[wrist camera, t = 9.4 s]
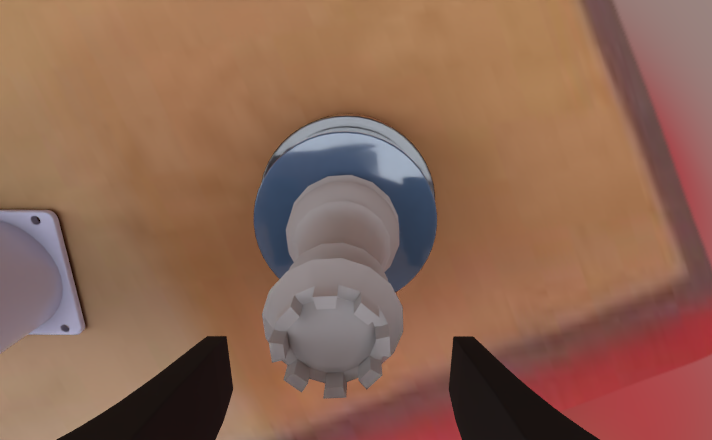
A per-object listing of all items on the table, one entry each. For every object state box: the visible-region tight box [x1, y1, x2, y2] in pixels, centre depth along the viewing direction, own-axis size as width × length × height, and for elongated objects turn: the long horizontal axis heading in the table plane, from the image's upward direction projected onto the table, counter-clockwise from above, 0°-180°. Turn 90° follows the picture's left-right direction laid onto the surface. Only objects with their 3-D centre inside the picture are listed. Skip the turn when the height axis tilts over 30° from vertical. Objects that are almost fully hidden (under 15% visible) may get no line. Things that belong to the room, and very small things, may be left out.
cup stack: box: [254, 114, 437, 292], centre depth 18 cm, size 9×9×6 cm
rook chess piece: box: [262, 175, 403, 398], centre depth 11 cm, size 4×4×8 cm
